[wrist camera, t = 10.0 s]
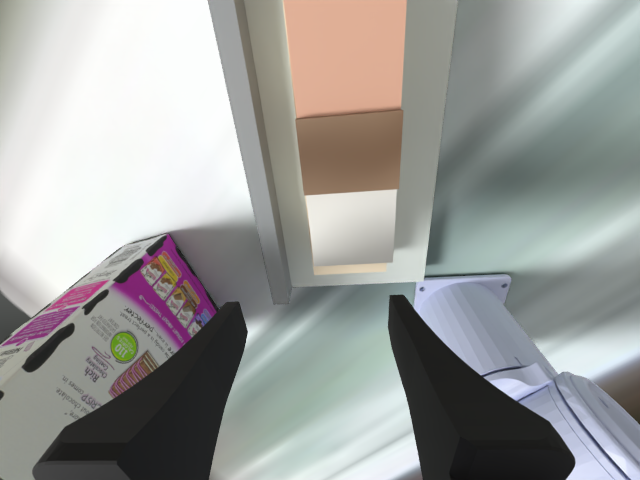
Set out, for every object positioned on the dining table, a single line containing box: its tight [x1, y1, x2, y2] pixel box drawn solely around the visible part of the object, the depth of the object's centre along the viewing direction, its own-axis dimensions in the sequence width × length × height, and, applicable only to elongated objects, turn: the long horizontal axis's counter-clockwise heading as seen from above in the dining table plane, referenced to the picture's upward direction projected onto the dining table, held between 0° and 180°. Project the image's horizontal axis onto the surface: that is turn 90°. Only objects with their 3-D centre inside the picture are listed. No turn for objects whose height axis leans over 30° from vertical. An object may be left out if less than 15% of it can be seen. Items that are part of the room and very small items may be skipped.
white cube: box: [306, 189, 397, 267], centre depth 15 cm, size 4×4×4 cm
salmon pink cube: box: [284, 0, 407, 118], centre depth 11 cm, size 4×4×4 cm
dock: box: [208, 0, 458, 304], centre depth 17 cm, size 24×12×4 cm, turn 5°
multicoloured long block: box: [282, 0, 404, 275], centre depth 14 cm, size 18×5×7 cm, turn 5°
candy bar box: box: [0, 233, 218, 480], centre depth 19 cm, size 11×5×16 cm, turn 18°
